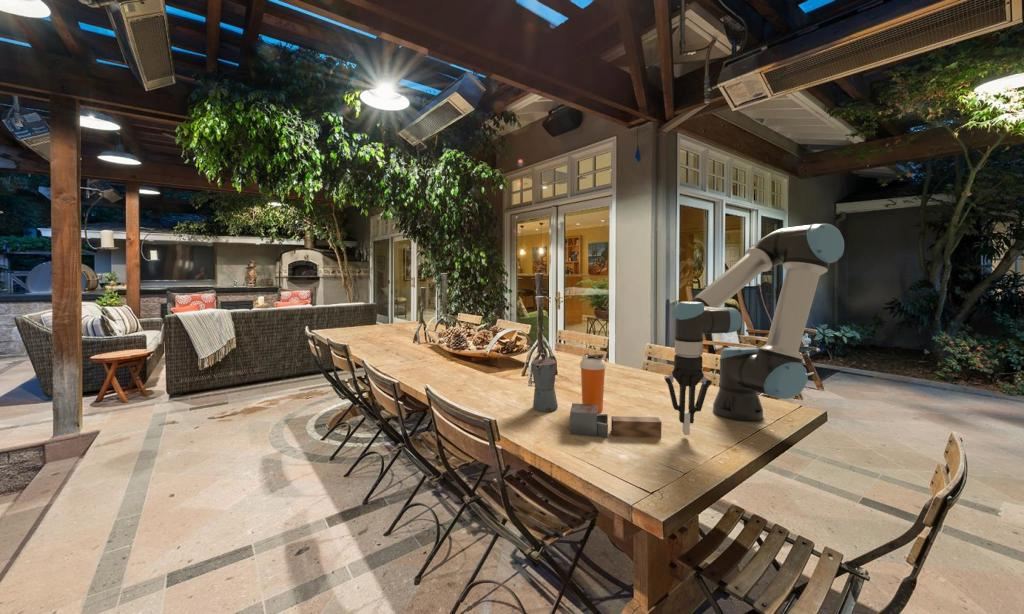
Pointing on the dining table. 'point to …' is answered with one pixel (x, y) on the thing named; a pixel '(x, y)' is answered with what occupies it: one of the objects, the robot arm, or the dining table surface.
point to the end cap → (588, 421)
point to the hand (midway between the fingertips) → (685, 433)
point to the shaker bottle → (593, 379)
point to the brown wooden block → (636, 426)
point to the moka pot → (544, 384)
